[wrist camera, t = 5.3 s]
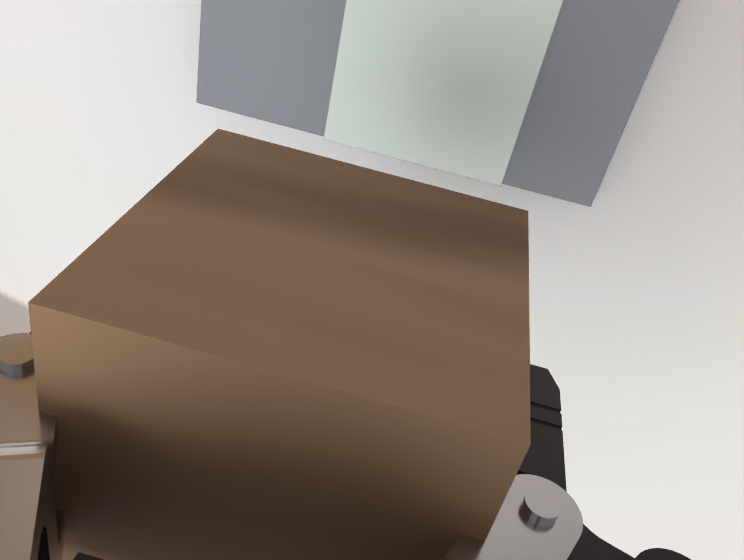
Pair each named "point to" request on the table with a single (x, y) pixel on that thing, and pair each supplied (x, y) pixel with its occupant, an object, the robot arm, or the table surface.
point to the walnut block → (287, 364)
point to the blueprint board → (443, 79)
